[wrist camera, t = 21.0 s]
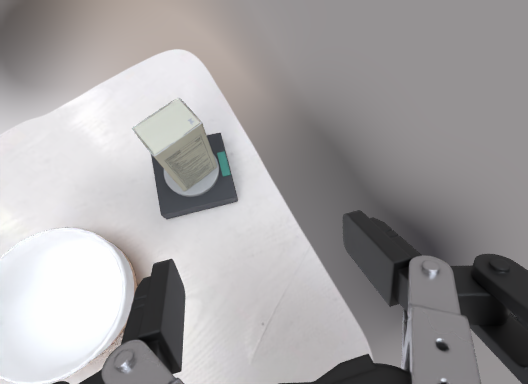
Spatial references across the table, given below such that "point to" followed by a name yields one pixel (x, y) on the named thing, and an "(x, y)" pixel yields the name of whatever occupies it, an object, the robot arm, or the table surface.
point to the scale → (196, 186)
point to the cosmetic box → (178, 143)
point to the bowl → (61, 303)
